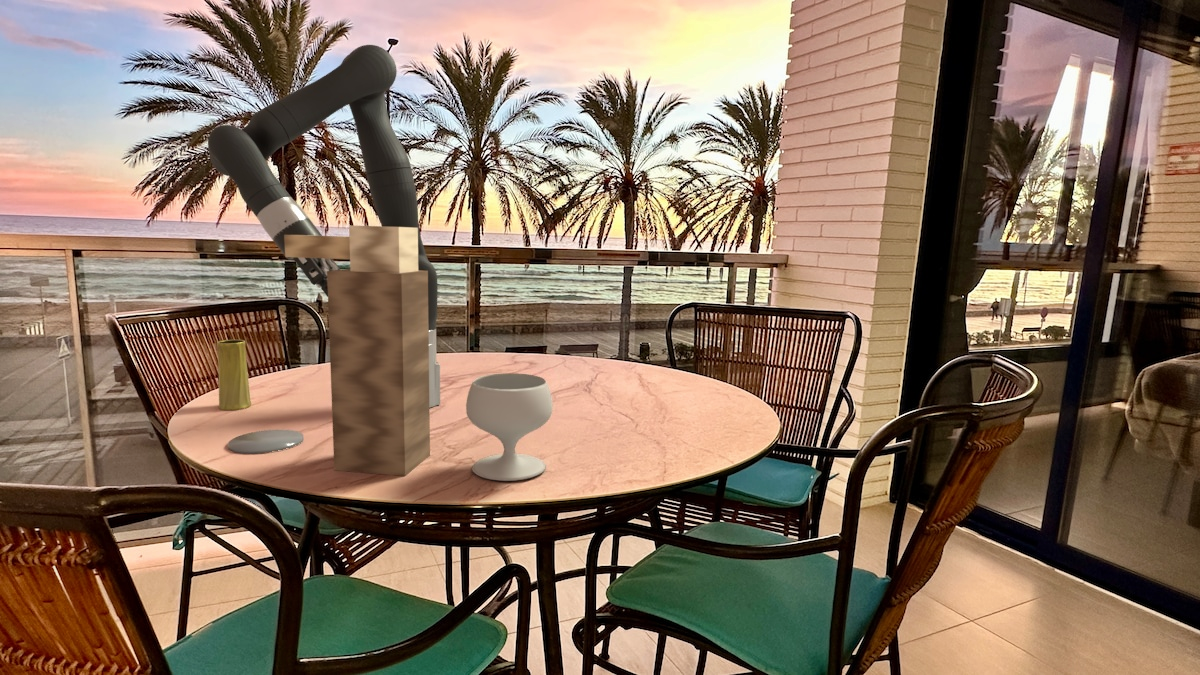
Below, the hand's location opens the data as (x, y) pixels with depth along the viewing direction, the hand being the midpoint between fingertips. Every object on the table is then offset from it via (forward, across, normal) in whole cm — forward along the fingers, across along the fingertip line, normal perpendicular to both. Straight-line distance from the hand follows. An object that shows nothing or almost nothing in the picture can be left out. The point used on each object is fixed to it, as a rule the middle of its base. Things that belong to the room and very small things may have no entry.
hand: (345, 299), depth 120 cm
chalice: (+40, -22, -10) cm, 46 cm away
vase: (+4, +18, +37) cm, 41 cm away
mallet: (-2, -18, -8) cm, 20 cm away
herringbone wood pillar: (+27, -18, +7) cm, 33 cm away
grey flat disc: (+13, -7, +25) cm, 29 cm away
